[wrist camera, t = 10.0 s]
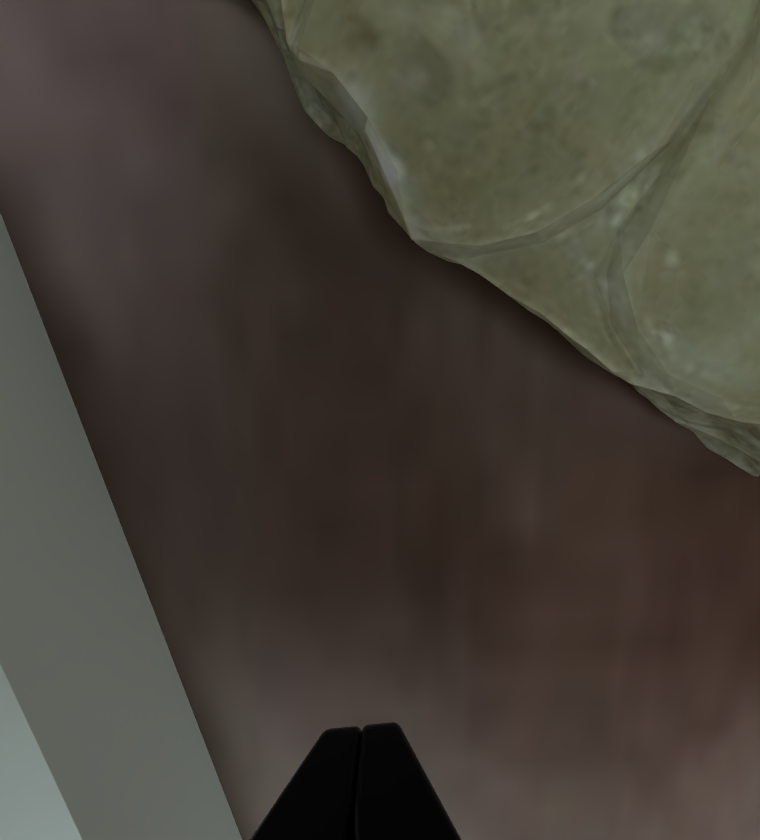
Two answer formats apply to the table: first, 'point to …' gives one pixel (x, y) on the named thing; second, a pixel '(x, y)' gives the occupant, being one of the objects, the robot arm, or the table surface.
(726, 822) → the table surface
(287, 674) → the table surface
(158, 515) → the table surface
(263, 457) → the table surface
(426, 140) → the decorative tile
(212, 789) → the sage plank
